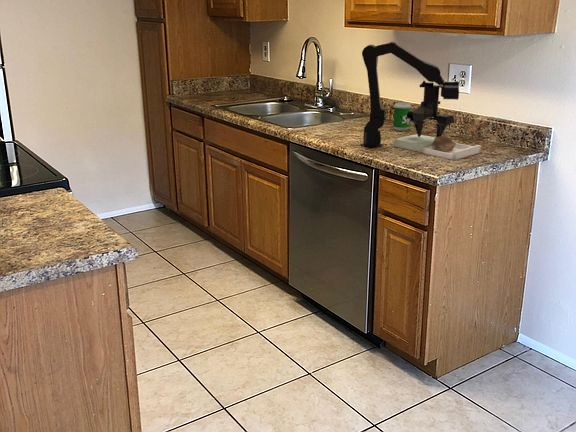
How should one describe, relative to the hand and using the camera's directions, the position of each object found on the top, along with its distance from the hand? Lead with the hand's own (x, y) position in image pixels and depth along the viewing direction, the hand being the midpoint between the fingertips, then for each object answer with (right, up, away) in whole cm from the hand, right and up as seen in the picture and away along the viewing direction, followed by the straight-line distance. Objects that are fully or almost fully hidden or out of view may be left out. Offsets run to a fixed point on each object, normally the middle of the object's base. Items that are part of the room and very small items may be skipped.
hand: (428, 138), depth 242 cm
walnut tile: (+5, -4, -4) cm, 7 cm away
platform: (-3, -3, +4) cm, 5 cm away
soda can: (-4, +8, +36) cm, 37 cm away
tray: (+7, -7, -7) cm, 12 cm away
